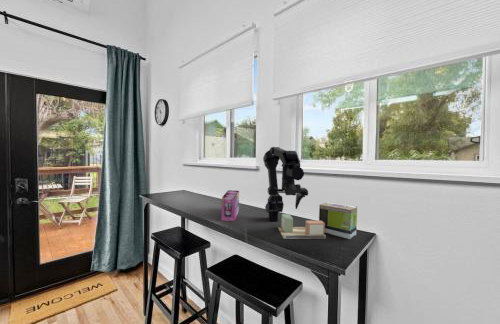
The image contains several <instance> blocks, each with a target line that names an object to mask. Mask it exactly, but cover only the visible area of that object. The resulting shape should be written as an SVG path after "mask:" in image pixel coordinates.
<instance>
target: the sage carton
mask: <svg viewBox="0 0 500 324" xmlns="http://www.w3.org/2000/svg"><path fill="white" fill-rule="evenodd" d="M280 225H281V226H280V227H282V229H283V230H284V232H293V227H294V218H293V216H291V215H290V214H289V213H286V214H285V213H282V214H281V223H280Z"/></svg>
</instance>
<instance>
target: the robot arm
mask: <svg viewBox="0 0 500 324" xmlns="http://www.w3.org/2000/svg"><path fill="white" fill-rule="evenodd" d="M262 160H263V163H264V166H265V168H266V169H267V174H268V185H269V187H268V188H267V194H268V195H269V196H268V198H267V203H266V204H265V206H264V207H265V212H266V213H268V221H270V222H273V223H275V222H277V223H278V221H280V219H279V217H280V213H283V210H284V201H283V196H282V195H280V194H285V196H295V205H294V206H295V207H294V208H295V209H296V210H297V209H298V207H299V205H300V202H301V201H302V199H303V198H306V196H309V190H308V189H307V188H305V187H302V186H301V184H300V183H298V184H296V183H295V181H301V180H302V179H304V176H305V172H304V169H303V168H302V167H301V161H300V157H299V154H298V153H297V151H296V150H286V149H283V148H281V147H280V146H279V147H278V146H277V147H276V146H272V147H270V149H269V150H268V151H266V152H265V153H264V155H263V159H262ZM279 160H280V161H281V163H282V164H281V167H282V168H281V169H282V170H281V171H282V173H281V188H279V187H278V186H279V185H278V177H277V174H278V173H277V167H278V165H279Z"/></svg>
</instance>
